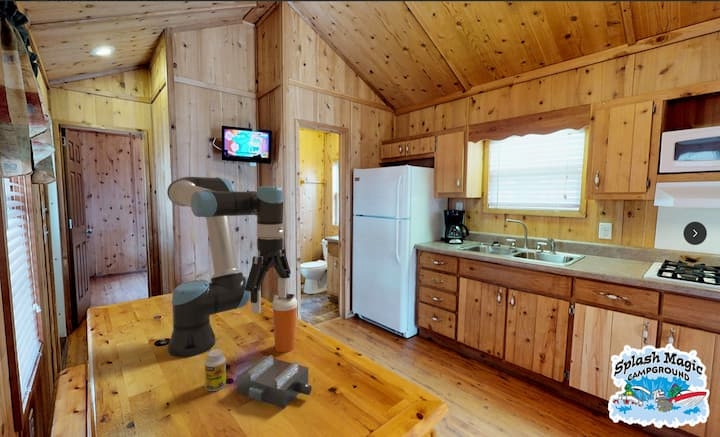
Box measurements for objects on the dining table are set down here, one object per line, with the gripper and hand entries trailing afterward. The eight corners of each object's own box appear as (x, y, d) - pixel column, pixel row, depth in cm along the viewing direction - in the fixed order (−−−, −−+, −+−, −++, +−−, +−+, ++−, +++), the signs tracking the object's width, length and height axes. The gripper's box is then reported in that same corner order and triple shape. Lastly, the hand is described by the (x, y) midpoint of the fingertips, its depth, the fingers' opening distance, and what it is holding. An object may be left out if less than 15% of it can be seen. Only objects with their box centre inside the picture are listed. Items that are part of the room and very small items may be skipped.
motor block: (231, 397, 88) (231, 375, 87) (264, 370, 100) (264, 351, 100) (292, 418, 80) (292, 393, 80) (320, 386, 93) (320, 365, 92)
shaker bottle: (291, 355, 110) (291, 299, 108) (267, 352, 112) (267, 297, 110) (301, 343, 119) (301, 291, 117) (279, 340, 121) (278, 289, 119)
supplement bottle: (203, 393, 89) (202, 358, 88) (207, 381, 94) (207, 348, 93) (224, 390, 90) (223, 356, 89) (227, 379, 96) (227, 347, 95)
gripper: (254, 245, 83) (254, 322, 85) (301, 232, 106) (300, 293, 109) (231, 242, 85) (231, 317, 88) (282, 231, 109) (281, 290, 111)
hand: (269, 304), depth 98 cm, fingers open, 13 cm apart
